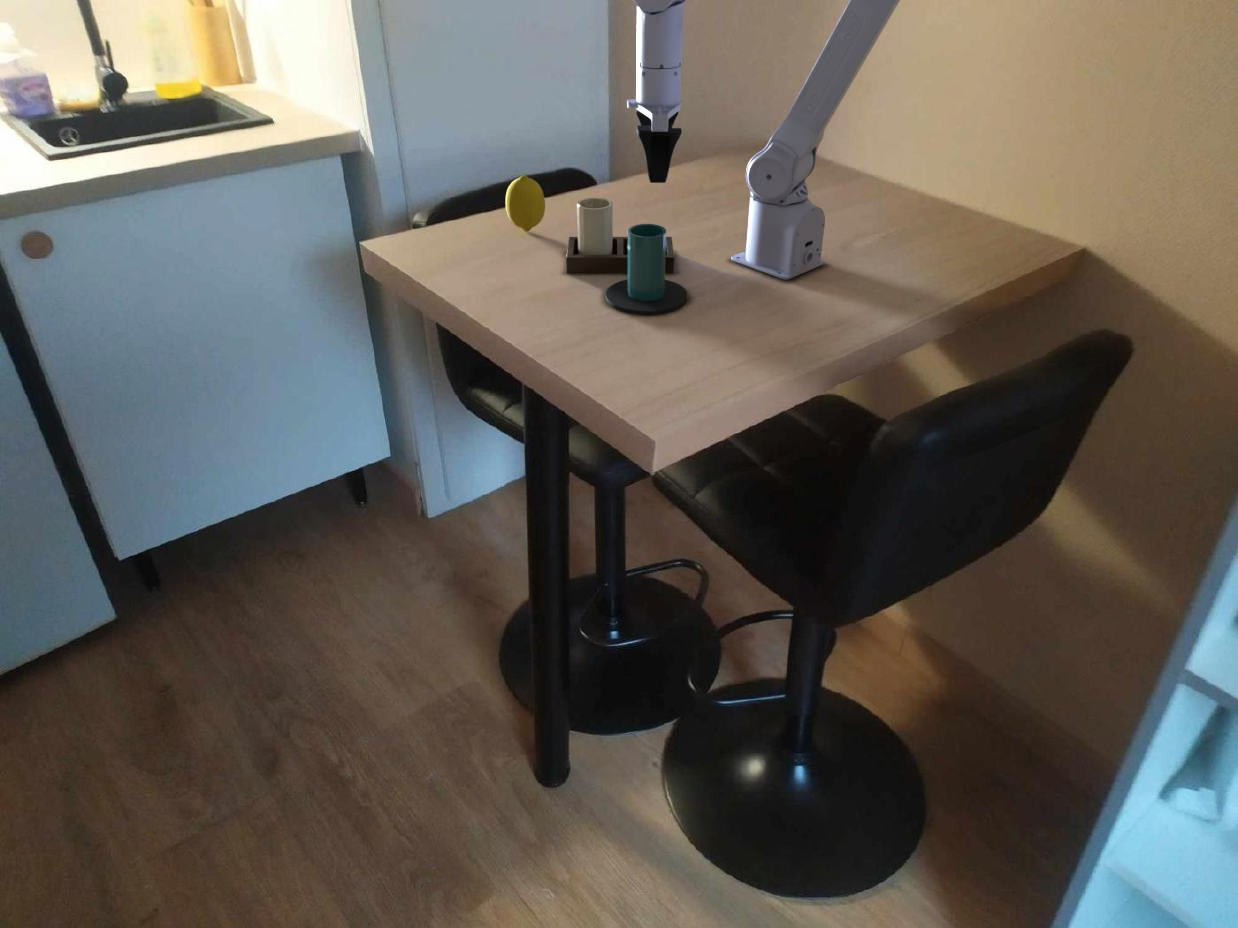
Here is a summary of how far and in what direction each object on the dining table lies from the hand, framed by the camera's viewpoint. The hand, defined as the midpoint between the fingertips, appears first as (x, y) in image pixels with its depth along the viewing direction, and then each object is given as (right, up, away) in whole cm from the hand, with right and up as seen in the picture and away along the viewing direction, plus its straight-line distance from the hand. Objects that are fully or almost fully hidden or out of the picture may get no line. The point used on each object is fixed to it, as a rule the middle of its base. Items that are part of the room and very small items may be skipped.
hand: (656, 173), depth 124 cm
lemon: (-18, -6, +8) cm, 21 cm away
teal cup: (-2, -18, -11) cm, 21 cm away
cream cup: (-8, -12, -1) cm, 15 cm away
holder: (-5, -12, -1) cm, 13 cm away
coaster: (-2, -18, -10) cm, 21 cm away
